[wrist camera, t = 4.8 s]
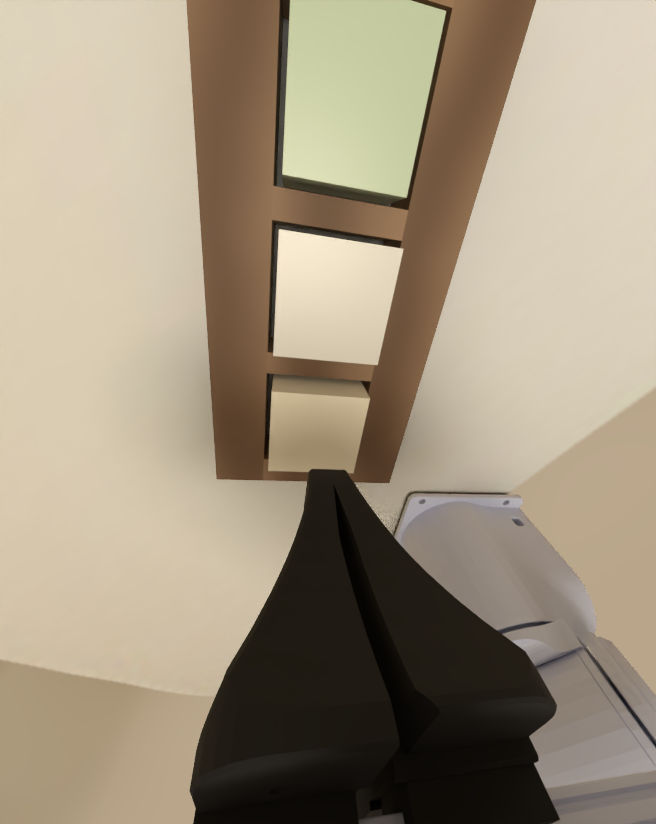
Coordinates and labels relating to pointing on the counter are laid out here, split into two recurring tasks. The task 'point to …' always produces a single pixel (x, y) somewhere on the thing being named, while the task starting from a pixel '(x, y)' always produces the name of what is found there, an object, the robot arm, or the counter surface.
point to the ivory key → (332, 297)
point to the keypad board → (331, 215)
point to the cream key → (315, 423)
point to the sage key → (357, 95)
